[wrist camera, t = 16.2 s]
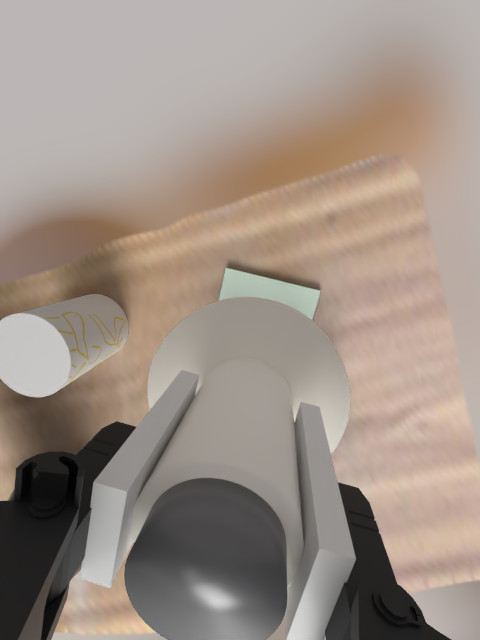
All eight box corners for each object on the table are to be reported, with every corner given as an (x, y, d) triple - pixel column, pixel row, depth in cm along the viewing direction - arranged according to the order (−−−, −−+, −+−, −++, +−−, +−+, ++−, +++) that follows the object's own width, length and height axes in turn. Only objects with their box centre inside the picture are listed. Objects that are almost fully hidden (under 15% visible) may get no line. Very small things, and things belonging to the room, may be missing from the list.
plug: (197, 268, 20) (9, 323, 6) (351, 306, 19) (531, 462, 5) (170, 405, 22) (-13, 674, 8) (307, 442, 21) (356, 799, 8)
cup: (129, 359, 43) (73, 401, 31) (69, 353, 44) (-7, 392, 32) (128, 296, 41) (68, 317, 29) (66, 291, 42) (-17, 309, 30)
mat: (216, 316, 40) (214, 317, 39) (226, 267, 39) (225, 267, 38) (305, 339, 40) (306, 340, 39) (319, 290, 38) (320, 291, 37)
